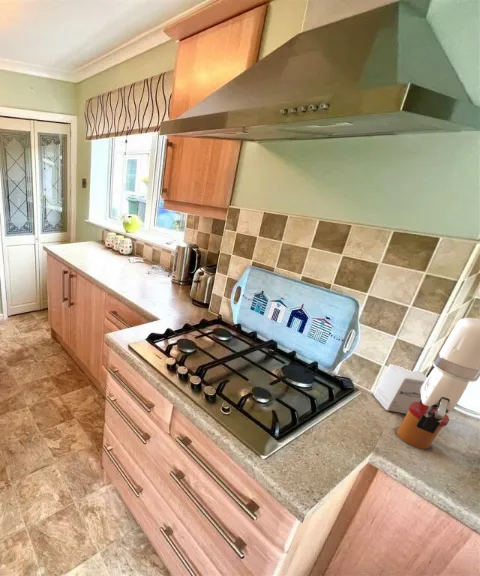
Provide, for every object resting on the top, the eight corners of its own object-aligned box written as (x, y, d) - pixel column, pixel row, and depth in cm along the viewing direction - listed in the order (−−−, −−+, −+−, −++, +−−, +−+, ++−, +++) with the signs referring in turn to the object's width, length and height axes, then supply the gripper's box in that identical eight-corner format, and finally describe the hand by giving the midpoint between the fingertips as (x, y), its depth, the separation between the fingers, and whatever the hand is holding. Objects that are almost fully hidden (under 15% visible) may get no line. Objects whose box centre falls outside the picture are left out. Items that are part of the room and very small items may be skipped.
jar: (426, 437, 85) (443, 411, 81) (431, 453, 80) (449, 426, 76) (395, 425, 88) (410, 399, 85) (398, 439, 84) (413, 413, 80)
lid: (405, 413, 82) (408, 408, 81) (411, 402, 86) (414, 397, 85) (444, 431, 76) (447, 426, 76) (448, 418, 80) (451, 413, 80)
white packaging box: (386, 411, 94) (404, 377, 89) (372, 394, 100) (388, 363, 95) (414, 416, 92) (434, 383, 87) (398, 399, 99) (416, 367, 94)
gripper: (432, 347, 83) (404, 398, 90) (438, 375, 71) (405, 431, 78) (473, 359, 79) (440, 411, 85) (487, 391, 67) (447, 450, 73)
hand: (423, 421), depth 82 cm, fingers closed on lid, 7 cm apart
